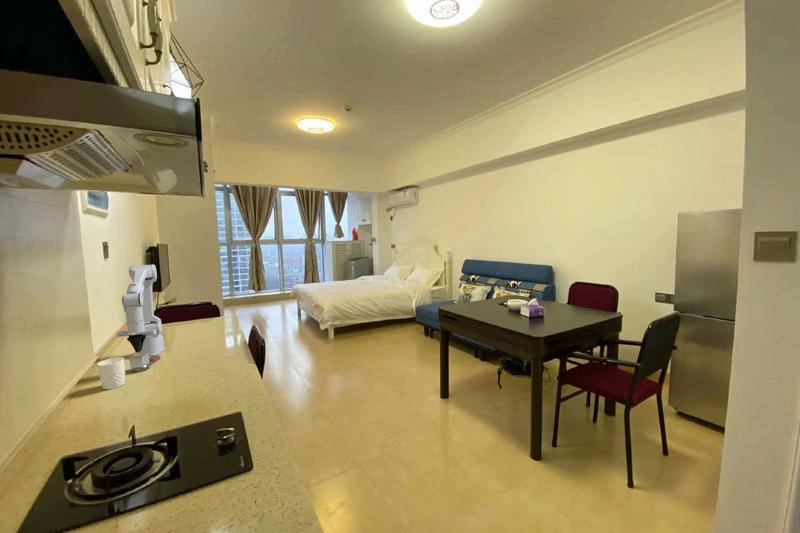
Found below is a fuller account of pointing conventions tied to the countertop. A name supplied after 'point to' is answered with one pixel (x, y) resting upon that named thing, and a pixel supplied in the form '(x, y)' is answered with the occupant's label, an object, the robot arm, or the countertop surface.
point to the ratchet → (146, 367)
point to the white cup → (112, 373)
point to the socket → (139, 360)
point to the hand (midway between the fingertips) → (138, 351)
